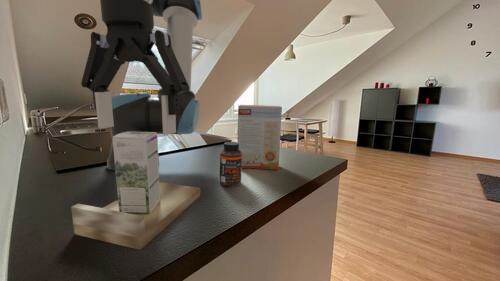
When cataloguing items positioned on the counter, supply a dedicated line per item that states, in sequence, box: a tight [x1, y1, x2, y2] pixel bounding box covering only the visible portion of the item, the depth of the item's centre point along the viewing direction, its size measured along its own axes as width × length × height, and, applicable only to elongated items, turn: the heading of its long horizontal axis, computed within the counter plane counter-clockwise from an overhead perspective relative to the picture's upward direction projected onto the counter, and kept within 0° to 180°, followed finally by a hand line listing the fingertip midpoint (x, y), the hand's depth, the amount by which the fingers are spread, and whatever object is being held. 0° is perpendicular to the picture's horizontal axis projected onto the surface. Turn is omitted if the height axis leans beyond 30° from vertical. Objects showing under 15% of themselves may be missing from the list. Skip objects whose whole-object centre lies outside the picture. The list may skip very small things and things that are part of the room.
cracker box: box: [237, 104, 283, 171], centre depth 75 cm, size 14×6×21 cm, turn 84°
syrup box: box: [111, 132, 160, 214], centre depth 42 cm, size 6×6×14 cm
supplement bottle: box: [219, 141, 243, 187], centre depth 61 cm, size 6×6×11 cm
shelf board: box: [70, 181, 201, 250], centre depth 45 cm, size 13×20×5 cm, turn 166°
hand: (136, 130), depth 41 cm, fingers open, 13 cm apart
